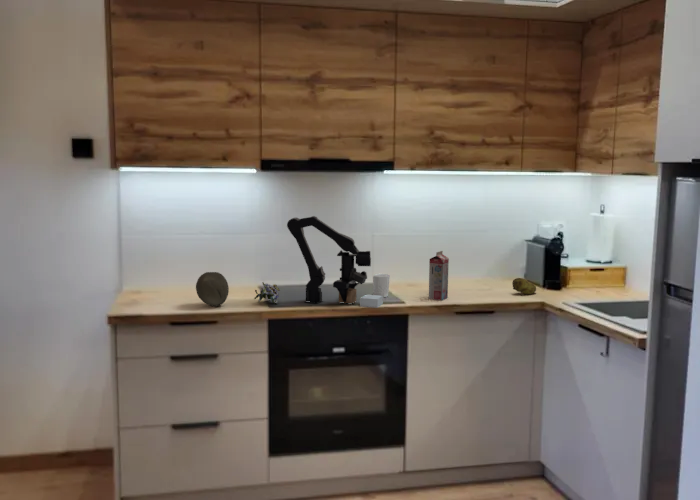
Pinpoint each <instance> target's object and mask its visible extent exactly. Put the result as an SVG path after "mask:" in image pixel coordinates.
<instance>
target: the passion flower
mask: <svg viewBox="0 0 700 500" xmlns="http://www.w3.org/2000/svg"><path fill="white" fill-rule="evenodd" d="M261 284H262V285H263V287H264V288H263V287H261V290H260V293H258V291H257V289H254V292H255V294H256V296H255V297H254V298H253V300H256V299H258V303H261V301H262V300H263V299H265V300H266V299H267V300H268V299H271V300H270V301H272V303H273V304H275V302H278V300H279V296H280V294H279V292H280V291H281V290H280V288H279V287H278V286H277V284H276V283H275V284H272V285H271V284H269V283H265V282H264V281H263V282H262V283H261ZM278 291H279V292H278Z"/></svg>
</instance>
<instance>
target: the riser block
mask: <svg viewBox="0 0 700 500" xmlns="http://www.w3.org/2000/svg"><path fill="white" fill-rule="evenodd" d="M383 301H384V297H383V296H379V295H374V294H365V295H363V296H361V297H360V298H359V307H362V308H365V307H366V308H379V307H381V306H382V305H383V304H384V303H383Z"/></svg>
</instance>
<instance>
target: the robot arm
mask: <svg viewBox="0 0 700 500" xmlns="http://www.w3.org/2000/svg"><path fill="white" fill-rule="evenodd" d="M311 226H312V227H314V228H315V229H316V230H317V231H319V232H321V233H322V234H324V235H325V236H326V237H328V238H330V239H331V240H333V241H334V243H336V244H337V246H338V247H339V248H341V250H340V251H339V252H338V253H337V255H336V256H337V257H341V265H340V266H341V267H340V268H339V272H341V274H340V276H339V279H337V280H335V281H333V283H332V287H333V288H336V290H337V292H338V294H339V293H340V295H341V297H342V300H343V302H346V299H347V291H348V290H349V289H350V288H352V289H356V287H357V286H358V285H359V284H360V285H363V284H364V283H366V280H367V279H368V273H367V271H365V270H363V271H361V272H360V271H357V268H356V267H355V265H357V267H371V266H372V258H371V251H370V250H366V251H362V250H361V251H360V250H359V249H358V247H357V246H356V245H355V240H354V239H353V238H352V237H350V236H348V235H346V234H343V233H340V232H338V230H335V229H334V228H332V227H331V226H329V225H328V224H326V223H325V222H323V221H322V220H321V219H319V218H318V217H317V216H315V215H313V216H309V217H304V218H298V217H293V218H290V219H289V220H288V221H287V223H286V227H287V229H288V231H289V232H290V234H291V235H292V236H293V237H294V239H295V240H296V243H297V245H298V248H299V249H300V251H301V254H302V257H303V259H304V261H305V264H306V266H307V269H308V274H309V279H310V280H308V281H307V283H306V285H305V301H310V302H315V303H314V304H318V303H317V302H319V303H321V302H323V301H322V300H323V291H322V288H321V286H322V285H323V283H324V281H326V273H325V271H324V269H323V268H324V267H323V266H322V265H321V266H319V265H318V264H317V262H316V260H315V258H314V255H313V253H312V251H311V248H310V246H309V243H308V240H307V238H306V236H305V230H304V228H308V227H311ZM320 301H321V302H320Z"/></svg>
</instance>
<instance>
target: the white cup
mask: <svg viewBox="0 0 700 500" xmlns="http://www.w3.org/2000/svg"><path fill="white" fill-rule="evenodd" d="M372 287H373V288H372V289H373V295H379V296H383V298H387V296H389V290H390V274H388V273H375V274H372Z"/></svg>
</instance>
